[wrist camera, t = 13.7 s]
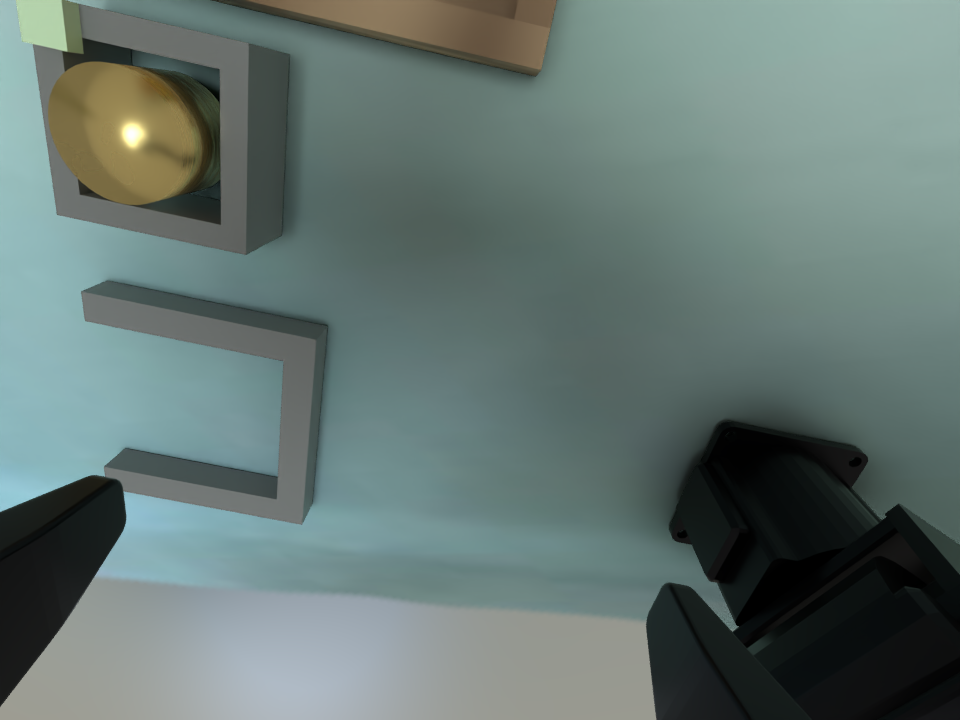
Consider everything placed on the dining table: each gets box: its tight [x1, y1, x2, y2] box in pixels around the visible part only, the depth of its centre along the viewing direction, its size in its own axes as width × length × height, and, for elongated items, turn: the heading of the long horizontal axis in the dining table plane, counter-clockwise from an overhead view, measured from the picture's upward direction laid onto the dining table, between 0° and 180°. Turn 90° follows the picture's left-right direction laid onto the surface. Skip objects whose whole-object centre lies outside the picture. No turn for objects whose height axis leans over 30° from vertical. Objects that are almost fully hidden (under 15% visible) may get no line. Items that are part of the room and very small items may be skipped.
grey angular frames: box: [16, 0, 328, 525], centre depth 19 cm, size 9×19×4 cm, turn 168°
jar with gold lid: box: [48, 62, 221, 205], centre depth 16 cm, size 4×4×3 cm
